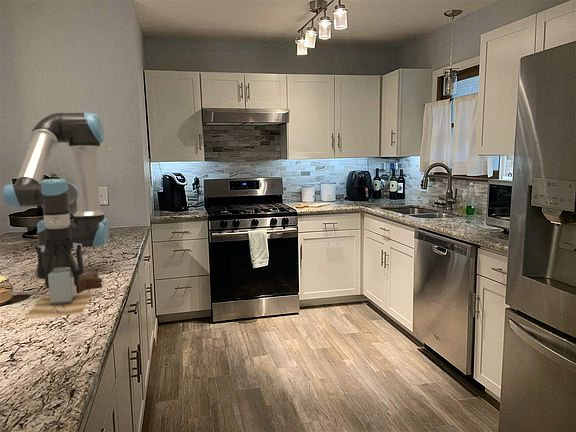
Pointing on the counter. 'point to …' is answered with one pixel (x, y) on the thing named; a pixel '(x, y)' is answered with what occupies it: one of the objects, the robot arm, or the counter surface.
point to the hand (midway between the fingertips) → (63, 295)
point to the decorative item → (88, 282)
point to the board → (59, 307)
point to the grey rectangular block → (60, 286)
